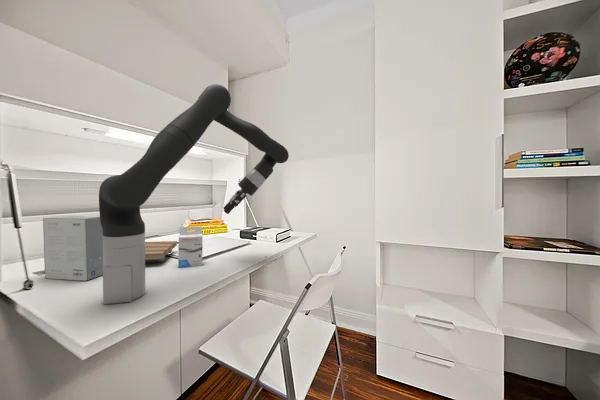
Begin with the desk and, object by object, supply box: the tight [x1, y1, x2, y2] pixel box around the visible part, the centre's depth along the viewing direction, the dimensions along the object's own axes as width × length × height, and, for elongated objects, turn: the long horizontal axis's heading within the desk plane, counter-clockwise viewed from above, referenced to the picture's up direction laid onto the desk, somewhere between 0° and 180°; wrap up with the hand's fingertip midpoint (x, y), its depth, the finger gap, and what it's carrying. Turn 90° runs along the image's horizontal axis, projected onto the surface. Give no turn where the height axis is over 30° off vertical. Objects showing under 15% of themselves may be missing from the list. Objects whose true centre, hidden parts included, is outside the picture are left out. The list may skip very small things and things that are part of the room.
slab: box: [145, 240, 178, 259], centre depth 97 cm, size 22×14×2 cm, turn 15°
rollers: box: [145, 249, 173, 264], centre depth 97 cm, size 13×12×3 cm
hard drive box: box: [42, 215, 103, 282], centre depth 77 cm, size 16×8×20 cm, turn 84°
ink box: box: [177, 226, 203, 268], centre depth 91 cm, size 8×5×15 cm, turn 115°
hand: (225, 211), depth 95 cm, fingers open, 8 cm apart
